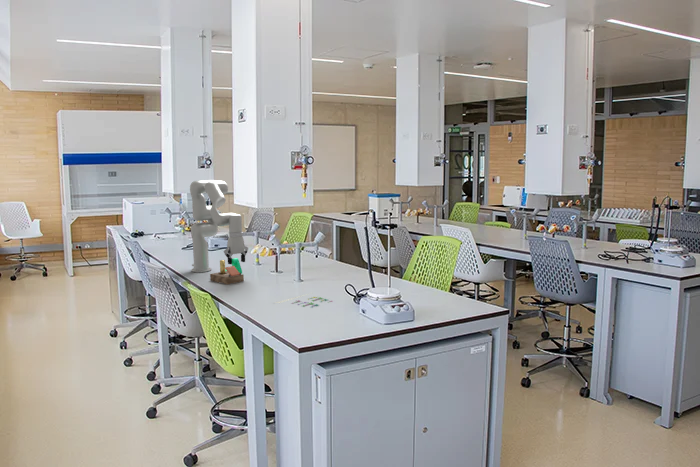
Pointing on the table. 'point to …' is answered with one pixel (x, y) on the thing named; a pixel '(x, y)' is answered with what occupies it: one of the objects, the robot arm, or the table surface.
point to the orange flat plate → (232, 271)
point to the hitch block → (226, 278)
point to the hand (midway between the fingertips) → (236, 263)
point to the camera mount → (236, 265)
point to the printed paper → (304, 302)
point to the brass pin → (222, 266)
